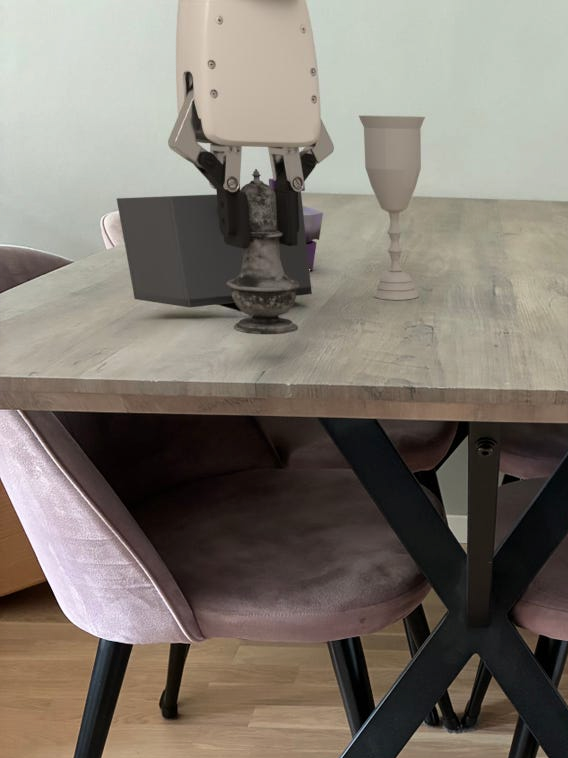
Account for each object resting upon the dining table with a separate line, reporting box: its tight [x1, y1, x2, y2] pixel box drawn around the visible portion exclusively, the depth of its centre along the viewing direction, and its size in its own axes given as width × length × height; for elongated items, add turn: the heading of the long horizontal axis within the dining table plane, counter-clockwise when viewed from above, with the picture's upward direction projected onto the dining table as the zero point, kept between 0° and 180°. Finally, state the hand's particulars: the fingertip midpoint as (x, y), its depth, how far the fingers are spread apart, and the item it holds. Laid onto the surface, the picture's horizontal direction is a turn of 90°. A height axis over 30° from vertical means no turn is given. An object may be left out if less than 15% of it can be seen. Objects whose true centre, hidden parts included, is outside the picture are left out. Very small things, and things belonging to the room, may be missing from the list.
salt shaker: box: [227, 168, 300, 335], centre depth 77 cm, size 6×6×12 cm
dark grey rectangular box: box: [116, 191, 313, 309], centre depth 99 cm, size 19×14×10 cm
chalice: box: [358, 115, 426, 301], centre depth 104 cm, size 7×7×18 cm
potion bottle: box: [268, 178, 324, 269], centre depth 121 cm, size 9×9×12 cm
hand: (260, 242), depth 77 cm, fingers closed on salt shaker, 3 cm apart
